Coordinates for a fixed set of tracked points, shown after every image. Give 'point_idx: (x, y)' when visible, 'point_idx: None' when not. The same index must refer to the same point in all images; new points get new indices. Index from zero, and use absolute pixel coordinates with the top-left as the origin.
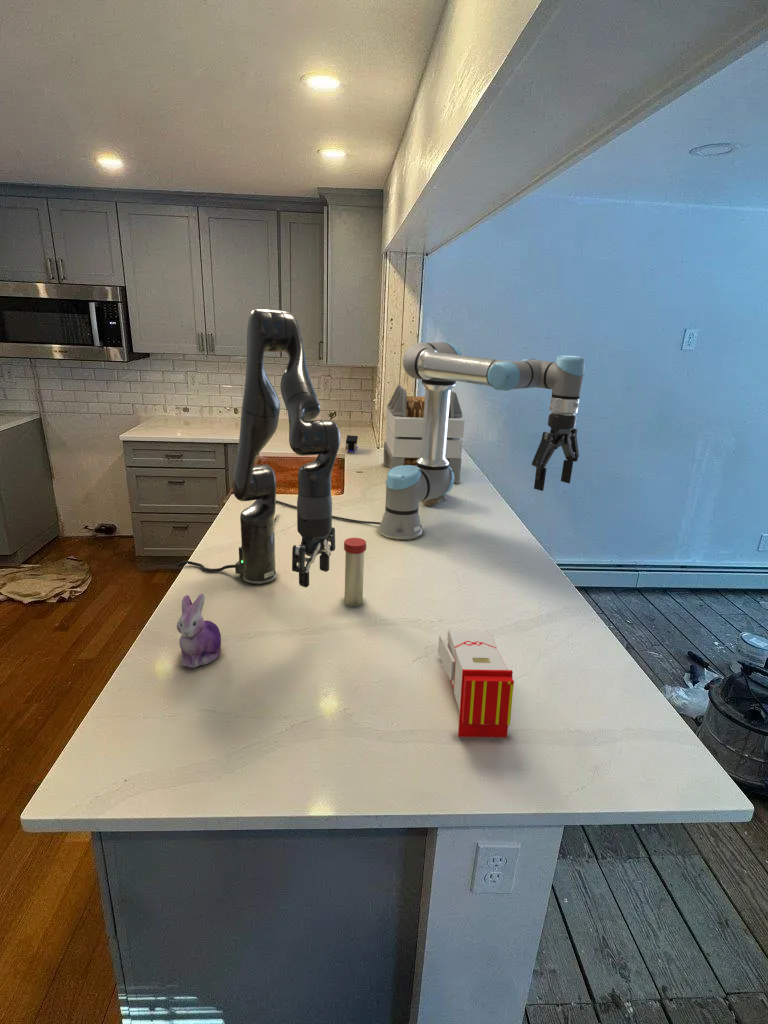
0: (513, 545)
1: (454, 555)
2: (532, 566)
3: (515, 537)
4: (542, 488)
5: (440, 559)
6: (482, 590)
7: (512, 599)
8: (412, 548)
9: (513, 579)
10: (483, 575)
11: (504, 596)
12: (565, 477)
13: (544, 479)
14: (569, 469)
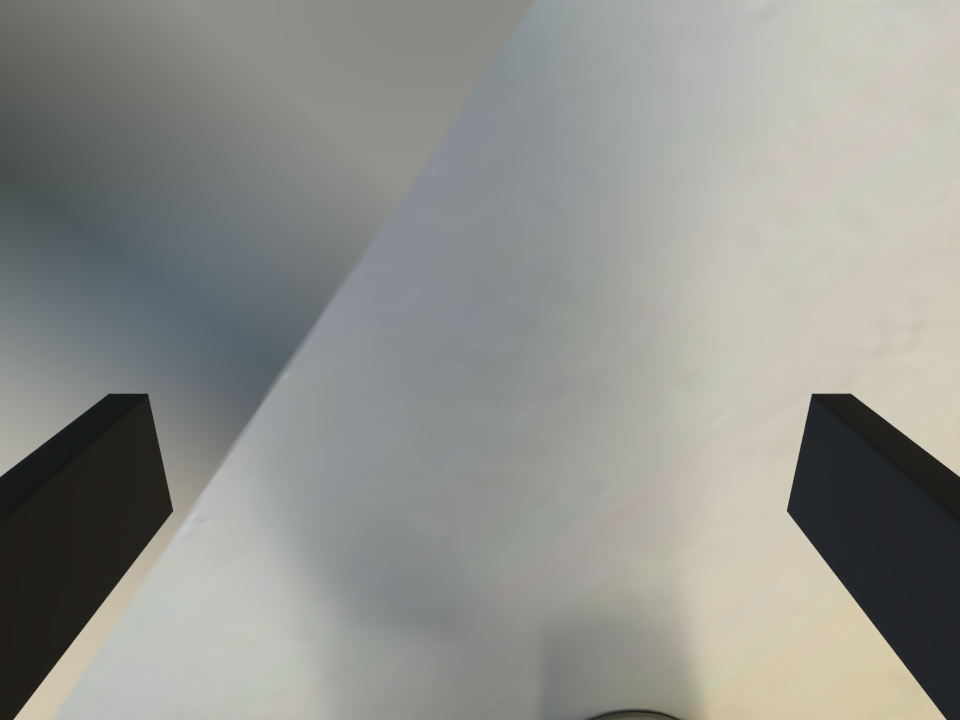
0: (329, 474)
1: (640, 544)
2: (448, 284)
3: (245, 522)
4: (866, 409)
5: (719, 549)
6: (854, 265)
7: (840, 121)
8: (715, 663)
9: (648, 251)
10: (717, 356)
11: (839, 165)
12: (119, 494)
13: (939, 490)
14: (2, 551)
